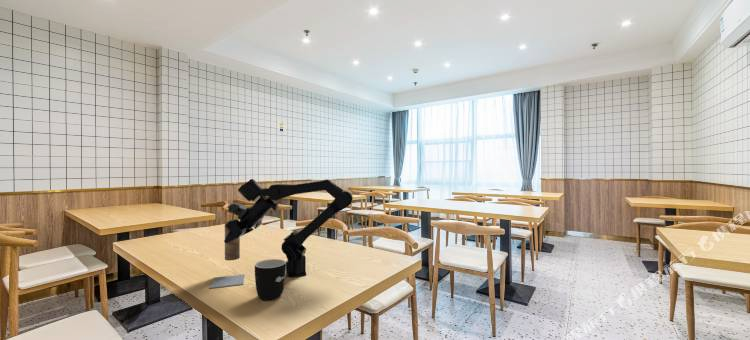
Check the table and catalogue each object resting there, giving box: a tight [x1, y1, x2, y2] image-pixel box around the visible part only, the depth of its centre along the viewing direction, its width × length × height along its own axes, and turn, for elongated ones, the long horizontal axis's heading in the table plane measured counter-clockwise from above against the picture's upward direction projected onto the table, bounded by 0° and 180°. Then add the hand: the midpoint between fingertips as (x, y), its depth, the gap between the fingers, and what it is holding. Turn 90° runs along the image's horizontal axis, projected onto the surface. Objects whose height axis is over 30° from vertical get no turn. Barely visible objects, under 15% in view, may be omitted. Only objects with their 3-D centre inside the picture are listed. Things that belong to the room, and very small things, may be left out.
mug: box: [254, 258, 286, 302], centre depth 95 cm, size 12×9×10 cm
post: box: [224, 222, 241, 261], centre depth 113 cm, size 5×5×13 cm
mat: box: [209, 274, 245, 289], centre depth 105 cm, size 10×10×1 cm
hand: (228, 240), depth 113 cm, fingers closed on post, 5 cm apart
